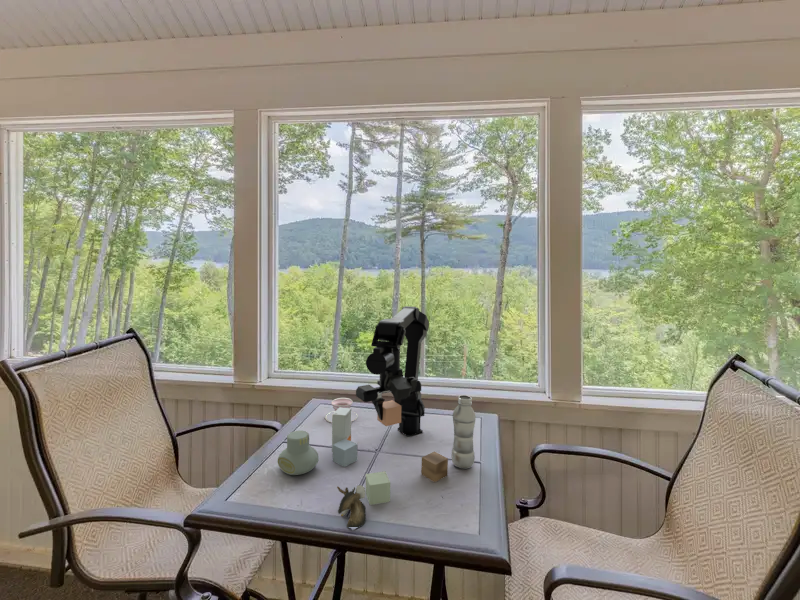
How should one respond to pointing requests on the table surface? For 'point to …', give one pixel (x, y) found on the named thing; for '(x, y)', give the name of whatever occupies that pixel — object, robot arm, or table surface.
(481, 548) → the table surface
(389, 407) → the terracotta cube
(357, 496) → the deer head figurine
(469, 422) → the plastic bottle
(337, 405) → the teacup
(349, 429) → the skincare box
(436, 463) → the walnut cube
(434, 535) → the table surface
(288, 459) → the air freshener
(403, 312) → the robot arm
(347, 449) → the slate cube
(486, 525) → the table surface
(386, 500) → the sage cube
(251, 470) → the table surface
